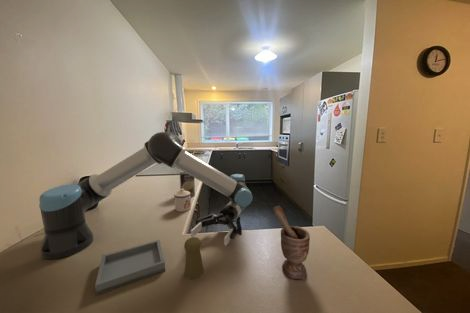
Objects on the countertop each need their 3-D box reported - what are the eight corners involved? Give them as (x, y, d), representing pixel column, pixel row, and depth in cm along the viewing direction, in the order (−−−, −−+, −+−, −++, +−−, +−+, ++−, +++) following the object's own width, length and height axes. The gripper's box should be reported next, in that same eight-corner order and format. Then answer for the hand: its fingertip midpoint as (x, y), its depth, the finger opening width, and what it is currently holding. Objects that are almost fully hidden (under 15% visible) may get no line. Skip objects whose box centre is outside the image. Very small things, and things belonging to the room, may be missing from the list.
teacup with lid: (186, 212, 100) (185, 192, 98) (171, 211, 102) (170, 191, 100) (196, 204, 111) (195, 185, 110) (182, 202, 114) (181, 184, 112)
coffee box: (181, 198, 121) (180, 174, 119) (180, 194, 127) (179, 172, 125) (195, 196, 125) (194, 173, 122) (193, 193, 131) (192, 171, 128)
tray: (96, 295, 51) (95, 285, 50) (103, 263, 63) (102, 255, 62) (165, 270, 59) (164, 262, 59) (159, 246, 71) (159, 239, 71)
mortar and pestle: (267, 273, 58) (268, 213, 55) (273, 255, 66) (274, 202, 63) (307, 284, 53) (310, 220, 50) (308, 264, 61) (311, 207, 58)
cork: (195, 262, 63) (194, 232, 61) (207, 270, 59) (206, 239, 57) (180, 272, 58) (178, 240, 57) (192, 282, 54) (190, 248, 53)
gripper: (256, 224, 82) (240, 255, 62) (207, 216, 90) (179, 240, 71) (256, 208, 80) (240, 234, 61) (206, 201, 89) (178, 222, 70)
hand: (207, 237), depth 66 cm, fingers open, 13 cm apart
